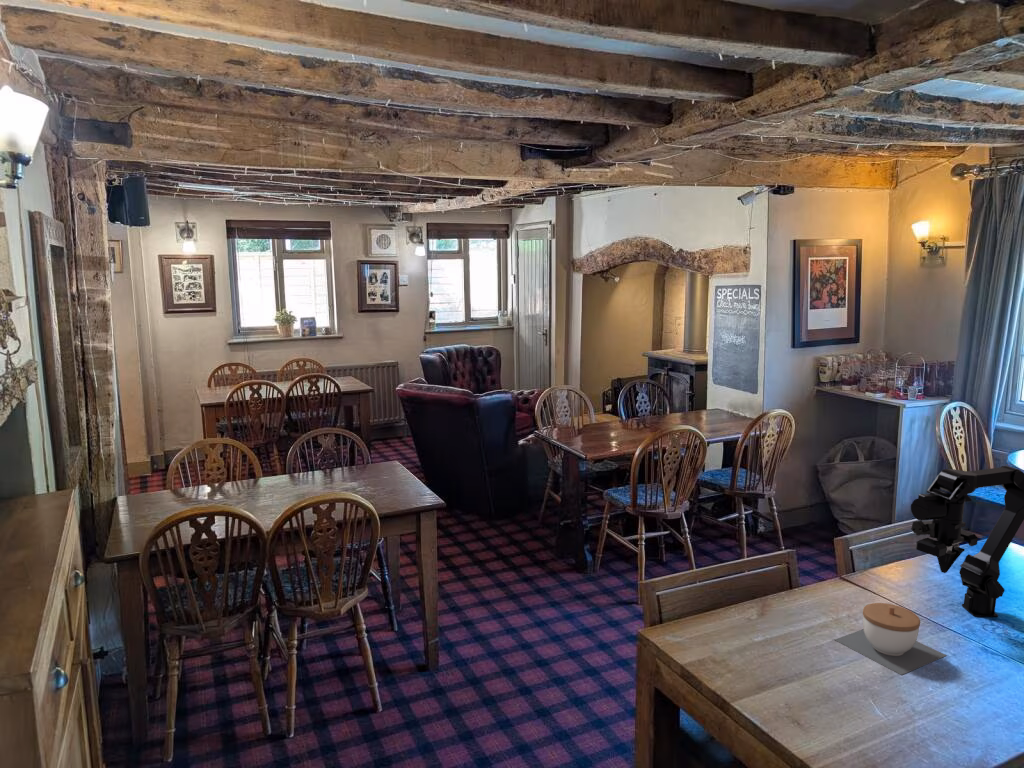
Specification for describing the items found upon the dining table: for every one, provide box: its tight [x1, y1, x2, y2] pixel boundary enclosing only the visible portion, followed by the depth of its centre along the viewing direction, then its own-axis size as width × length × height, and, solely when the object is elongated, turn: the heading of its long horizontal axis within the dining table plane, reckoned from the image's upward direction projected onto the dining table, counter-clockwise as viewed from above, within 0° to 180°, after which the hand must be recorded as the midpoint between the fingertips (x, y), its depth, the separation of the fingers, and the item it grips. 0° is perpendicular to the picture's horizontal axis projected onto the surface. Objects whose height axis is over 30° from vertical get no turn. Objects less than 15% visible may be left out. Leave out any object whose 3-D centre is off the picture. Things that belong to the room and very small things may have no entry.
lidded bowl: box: [862, 602, 921, 656], centre depth 177 cm, size 13×13×11 cm
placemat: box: [834, 629, 947, 676], centre depth 178 cm, size 18×18×1 cm
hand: (943, 572), depth 192 cm, fingers closed
